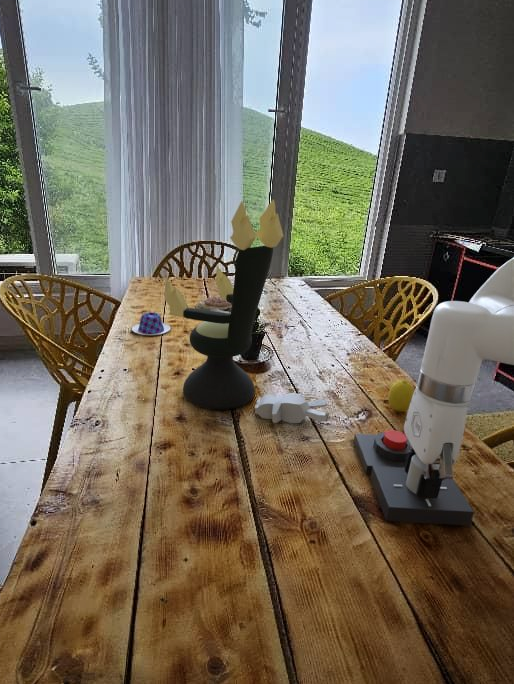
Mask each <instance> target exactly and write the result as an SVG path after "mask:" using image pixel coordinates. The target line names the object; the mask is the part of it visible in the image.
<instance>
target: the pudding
mask: <svg viewBox="0 0 514 684" xmlns="http://www.w3.org/2000/svg"><path fill="white" fill-rule="evenodd" d="M131 330H132V332H133V333H135V334H138V335H142V336H158V335H163V334H166V333H168V332H169V331H170V330H171V326H170V325H169V324H167V323H165V322H163V320H162V317H161V314H160V313H158V312H157V313H156V312H153V311H152V312H150V311H149V312H144V313H142V315H141V316H140V320H139V323H137V324H134V325H133V326H132V327H131Z"/></svg>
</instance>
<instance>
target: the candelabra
mask: <svg viewBox="0 0 514 684" xmlns="http://www.w3.org/2000/svg"><path fill="white" fill-rule="evenodd" d="M258 220H259V224H260V227H259V229H258V230H257V231H256V232H255V230H254V228H253V225H252V224H253V223H252V222H251V220H250V217H249V216H248V215H247V213H246V207H245V205H244V202H243V200H241V202H240V203H239V205H238V207H237V209H236V211H235V213H234V215H233V217H232V220H231V227H232V235H230V236H229V238H230V241H231V242H232V244H234V246H235V247H236V248H237V249H239V250H238V252H237V254H236V258H235V266H234V267H235V269H234V280H233V283H232V281H231V279H229V277H227V275H226V274H225V273H224V272H223V271H222V270H221V268H220V267H219V266H218V265H216V274H215V275H216V277H215V285H216V287H217V289H218V292H219V297H220V298H221V299H223V300H226V301H227V302H229V303H231V304H232V308H230V312H229V313H223V312H216V311H210V310H203V309H196V308H195V307H189V306H188V303H187V301H186V299H185V297H184V294H183V292H181V291H180V289H178V288H177V286H173V284H172V283H171V282H170V280H169V279H167V278H165V280H164V301H165V302H166V304H167V305H168V306H169V315H170V316H173V317H179V318H181V317H183V318H184V319H187V320H192V321H193V320H194V321H200V322H201V323H199V324H198V325H196V326H195V327H194V328H193V329H192V330H191V332H190V334H189V343H190V345H191V348H193V350H195V351H196V352H197V353H199V354H201V355H204V356H206V360H205V361H204V362H203V363H202V364H201V365H199V366H197V367H196V368H195V369H194V370H193V371H192V372H191V373H189V375H188V376H187V377H186V378H185V380H184V383H183V386H182V392H183V395H184V396H185V398H186V399H187V400H188V401H189V402H191V403H192V404H193V405H195V406H198V407H200V408H202V409H207V410H211V411H227V410H235V409H237V408H241V407H243V406H244V405H246V404H247V403H249V402H250V401H251V400H252V399H253V398H254V396H255V393H256V390H255V384H254V382H253V380H252V378H251V377H250V375H249V374H248V373H247V372H246V371H245V370H244V369H243V368H241V367H240V366H239V365H238V364H236V363H235V361H234V357H238V356H240V355H242V354H244V353H246V352H247V351H248V350H249V349H250V347H251V346H252V343H253V337H252V335H253V334H252V333H253V329H254V324H255V321H256V316H257V311H258V308H259V305H260V301H261V298H262V295H263V290H264V288H265V284H266V281H267V278H268V275H269V271H270V268H271V263H272V260H273V254H274V248H276V247H277V246H278V244H279V243H280V242H281V240H283V238H284V237H285V236H284V231H283V227H282V224H281V221H280V217H279V213H276V203H275V200H274V199H272V200H271V201H270V203H269V204H268V206H267V207H266V208H265V211H264V212H263V213H262V214H261V215H260V217H259V219H258ZM256 239H258V240H259V242H260V243H261V244H263V245H260V246H253V243H254V241H255V240H256ZM252 246H253V247H252Z"/></svg>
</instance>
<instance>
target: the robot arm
mask: <svg viewBox="0 0 514 684" xmlns="http://www.w3.org/2000/svg"><path fill="white" fill-rule="evenodd" d="M484 360H487V361H492V362H496V363H502V364H505V365H511V366H514V257H512V258H511V259H509V260H507V261H506V262H505V263H504V264H502V265H501V266H500V267H499V268H497V269H496V270H495V271H494V272H493V273H492V274H491V275H490V276H489V278H487V280H486V281H485V282H484V283H483V284H482V285H481V286H480V287H479V289H478V290H477V291H476V292H475V293H474V294H473V296H472V297H471V298H470V299H469V301H468V302H467V301H461V300H448V301H447V300H446V301H443V302H440V303H439V304H438V305H436V307H435V308H434V310H433V313H432V317H431V320H430V325H429V329H428V335H427V339H426V342H425V348H424V352H423V355H422V361H421V365H420V370H419V374H418V379H417V383H416V387H415V388H414V390H415V391H414V394H413V396H412V399H411V402H410V406H409V409H408V410H407V413H406V416H405V421H404V425H403V431H404V434H405V435H406V436H407V438H408V440H409V442H410V444H409V451H412V452H409V453H408V457H407V461H406V466H405V472H406V473H408V472H409V468H410V463H411V459H412V456H413V455H415V454H417V456H418V457H419V459H420V460H421V461H422V462H423V463H424V464H425V468H424V474H421V476H420V480H419V484H418V488H417V492H416V494H417V496H418V497H423V498H437V497H438V495H439V491H440V487H441V484H442V480H445V479H453V480H454V465H455V464H456V462H457V460H458V458H459V455H460V450H461V448H462V443H463V439H464V438H463V437H464V433H465V428H466V422H467V415H468V405H469V404H470V403H471V402H472V398H473V395H474V391H475V388H476V384H477V382H478V381H477V380H478V378H479V373H480V371H481V366H482V362H483V361H484ZM432 464H439V470H431V467H432Z"/></svg>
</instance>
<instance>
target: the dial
mask: <svg viewBox="0 0 514 684" xmlns="http://www.w3.org/2000/svg"><path fill="white" fill-rule="evenodd" d="M424 468H425V464H424V463H423V462H422V461H421V460H420V459H419V457H418V456H417V454H415V455H413V456H412V459H411V463H410V468H409V472H408V476H407V481H406V485H407V487H408V489H409V490H410V491H412V492H413V493H415V494H416V492H417V488H418V484H419V480H420V476H421V474H424ZM431 470H439V464H432V467H431Z"/></svg>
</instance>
